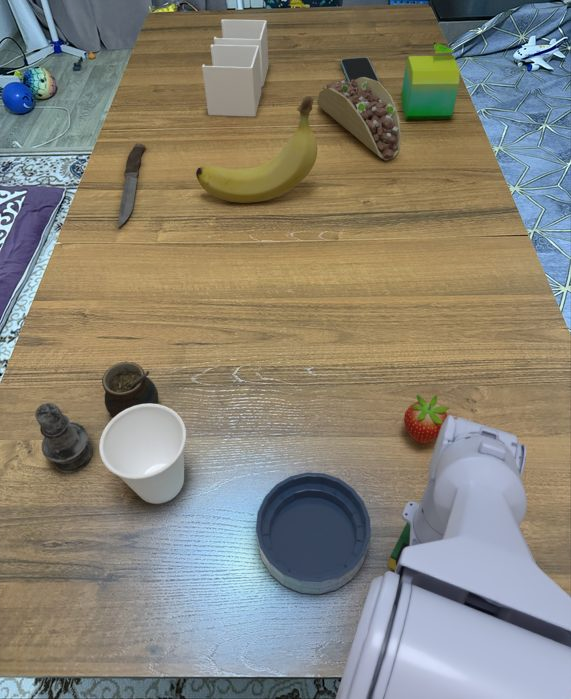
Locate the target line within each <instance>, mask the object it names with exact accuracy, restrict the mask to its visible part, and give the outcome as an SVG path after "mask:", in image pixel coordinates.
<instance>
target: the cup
mask: <svg viewBox="0 0 571 699" xmlns="http://www.w3.org/2000/svg"><path fill="white" fill-rule="evenodd" d="M186 443H187V429H186V425H185V422H184V420H183V419H182V417H181V416H180V415H179V414H178V413H177V411H175V410H173V409H172V408H170V407H168V406H166V405H163V404H159V403H158V404H151V403H149V404H140V405H136V406H133V407H130V408H128V409H125V410H124V411H122V412H120V413H119V414H118V415H116V416H115V417H114V418H111V420H109V422H108V423H107V425H106V426H105V427H104V429H103V431H102V433H101V436H100V438H99V445H98V450H99V456H100V458H101V462H102V463H103V465H104V466H105V468H106V469H107V470H109V471H110V472H111V473H112V474H114V475H116V476H117V477H119V479H121V480H122V481H123V482H124V483H125V484H126V485H127V486H128V487H129V488H130V489H131V490H132V491H133V492H135V494H137V496H139V498H141V499H142V500H143V501H145V502H146V503H149V504H155V505H156V504H164V503H167V502H169V501H171V500H173V499H174V498H175V497H177V495H178V494H179V493H180V492H181V490H182V488H183V487H184V483H185V447H186Z"/></svg>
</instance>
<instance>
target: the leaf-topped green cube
mask: <svg viewBox="0 0 571 699" xmlns="http://www.w3.org/2000/svg"><path fill="white" fill-rule="evenodd" d="M433 49H434V55H408V57H407V58H406V61H405V67H404V74H403V80H402V88H401V106H402V110H403V115H404V119H405V120H407V121H408V120H412V121H413V120H450V119H451V118H452V117H453V114H454V110H455V105H456V100H457V96H458V93H459V92H458V91H459V87H460V68H459V66H458V63H457V60H456V58H455V56H454V55H436V54H450V53H451V54H452V53H457V51H456V50H454V49H452V48H450V47H447V46H445V45H442V44H439V43H438V42H435V41H434V42H433Z"/></svg>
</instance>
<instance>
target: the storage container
mask: <svg viewBox="0 0 571 699" xmlns="http://www.w3.org/2000/svg"><path fill="white" fill-rule="evenodd" d="M220 25H221V33H222V34H221V35H222V37H217V36H214V37H213V44H211V45H210V54H211V62H212V63H211V64H212V65H206V64H205V63H203V64H202V66H201V69H202V76H203V77H202V78H203V85H204V93H205V99H206V107H207V115H208V116H229V117H256V116H257V112H258V108H259V104H260V101H261V97H262V88H263V87H264V86H265V81H266V77H267V74H268V70H269V66H270V65H269V46H268V44H269V42H268V21H267V20H266V19H225V18H224V19H223V18H222V19H221V21H220Z"/></svg>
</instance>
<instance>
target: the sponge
mask: <svg viewBox="0 0 571 699" xmlns="http://www.w3.org/2000/svg"><path fill="white" fill-rule="evenodd" d="M403 542H404V543H406V544H408V545H409V542H410V525H409V523H407V522H406V523H405V525H404V527H403V530H402V531H401V534H400V535H399V538H398V540H397V541H396V544H395V546H394V548H393V550H392V552H391V554H390V557H389V560H388V561H387V562H388V563H387V567H388V568H390V569H392V570H393V571H395V570H396V567H397V566H396V557H397V554H398V552H399V550H400V548H401V546H402V544H403Z"/></svg>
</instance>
